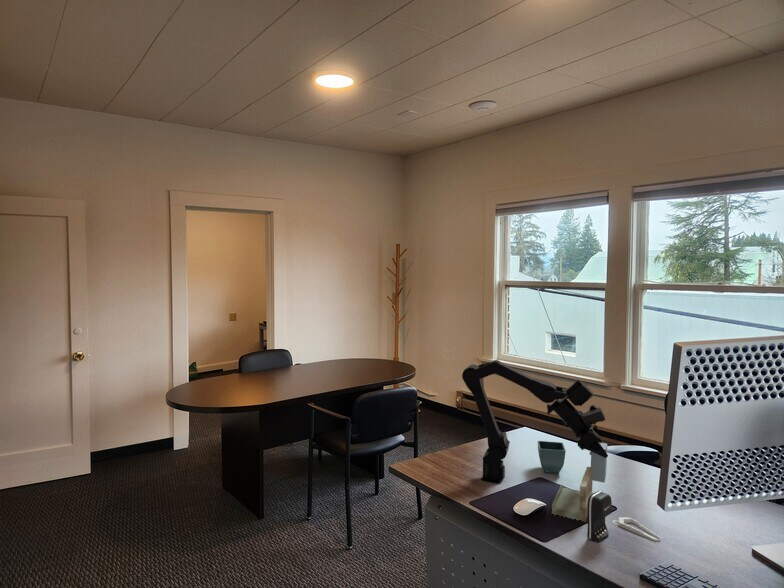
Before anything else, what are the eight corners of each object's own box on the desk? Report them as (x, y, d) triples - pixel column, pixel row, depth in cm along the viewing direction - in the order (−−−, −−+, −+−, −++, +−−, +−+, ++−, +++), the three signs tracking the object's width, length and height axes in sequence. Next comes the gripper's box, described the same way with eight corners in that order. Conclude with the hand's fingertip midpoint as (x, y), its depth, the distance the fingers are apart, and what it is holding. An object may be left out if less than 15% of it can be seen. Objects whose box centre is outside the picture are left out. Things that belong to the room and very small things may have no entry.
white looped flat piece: (667, 540, 133) (667, 534, 133) (657, 546, 130) (658, 540, 130) (620, 518, 143) (620, 512, 143) (610, 523, 140) (611, 517, 140)
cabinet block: (587, 479, 158) (588, 446, 157) (589, 472, 163) (590, 440, 163) (604, 482, 156) (606, 449, 155) (606, 475, 161) (607, 443, 160)
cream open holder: (551, 514, 145) (552, 480, 144) (561, 493, 159) (561, 462, 159) (585, 521, 140) (586, 486, 140) (592, 499, 155) (592, 467, 154)
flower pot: (565, 476, 173) (566, 450, 172) (539, 474, 174) (539, 448, 174) (562, 466, 181) (562, 442, 181) (537, 464, 183) (537, 440, 183)
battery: (600, 544, 128) (601, 501, 128) (586, 539, 131) (587, 496, 131) (613, 535, 133) (613, 493, 133) (599, 530, 136) (599, 488, 136)
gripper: (590, 406, 150) (629, 447, 147) (588, 392, 168) (623, 429, 165) (562, 429, 153) (600, 470, 150) (563, 413, 171) (597, 449, 168)
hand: (606, 453), depth 158 cm, fingers closed on cabinet block, 6 cm apart
